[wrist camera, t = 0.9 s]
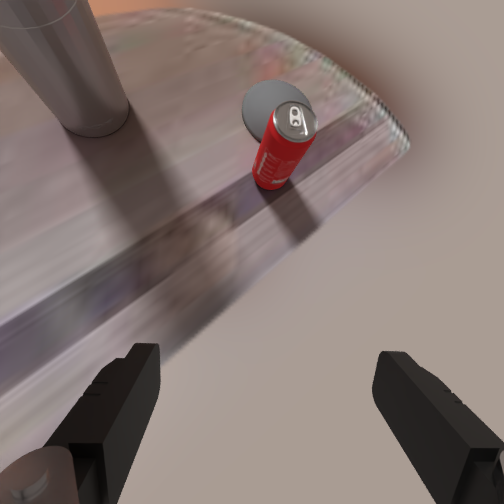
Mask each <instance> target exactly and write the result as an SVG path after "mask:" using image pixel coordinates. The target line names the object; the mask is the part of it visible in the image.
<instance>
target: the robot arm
mask: <svg viewBox="0 0 504 504" xmlns="http://www.w3.org/2000/svg"><path fill="white" fill-rule="evenodd" d="M0 51H1V52H2V53H3V54H4V55H5V57H6V58H7V59H8V60H9V61H10V63H11V64H12V65H13V66H14V67H15V69H16V70H17V71H18V72H19V73H20V75H21V76H22V77H23V78H24V79H25V81H26V82H27V83H28V84H29V85H30V87H31V88H32V89H33V90H34V91H35V93H36V94H37V95H38V96H39V97H40V99H41V100H42V101H43V102H44V103H45V105H46V106H47V107H48V108H49V109H50V111H51V112H52V113H53V114H54V115H55V117H56V118H57V119H58V120H59V121H60V122H61V124H62V125H63V126H64V127H65V128H67V129H68V130H70V131H71V132H73V133H75V134H78V135H81V136H85V137H101V136H105V135H109V134H111V133H113V132H115V131H116V130H118V129H119V128H120V127H121V126H122V125H123V124H124V122H125V121H126V119H127V116H128V112H129V104H128V100H127V97H126V95H125V92H124V90H123V87H122V85H121V82H120V80H119V77H118V75H117V72H116V70H115V67H114V65H113V62H112V60H111V57H110V55H109V52H108V50H107V47H106V45H105V42H104V40H103V37H102V35H101V32H100V30H99V28H98V25H97V23H96V20H95V18H94V15H93V13H92V10H91V8H90V5H89V3H88V0H0ZM159 390H160V349H159V345H158V344H153V343H135V344H134V345H133V346H132V348H131V349H130V351H129V352H128V354H127V355H126V357H125V358H116V359H114V360H113V361H112V362H110V363H109V364H108V365H106V366H105V367H104V368H102V369H101V371H100V372H99V373H98V375H97V376H96V377H95V379H94V380H93V381H92V384H91V385H89V387H88V388H87V389H86V390H85V392H84V393H83V396H81V397H80V398H79V400H78V401H77V402H76V404H75V405H74V406H73V408H72V409H71V410H70V412H69V413H68V414H67V416H66V417H65V418H64V420H63V421H62V422H61V424H60V425H59V426H58V428H57V429H56V430H55V432H54V433H53V434H52V436H51V437H50V438H49V440H48V441H47V442H46V444H45V445H44V446H43V447H42V448H39V449H36V450H34V451H32V452H29V453H28V454H26V455H24V456H22V457H20V458H19V459H17V460H16V461H14V462H13V463H12V464H10V465H9V466H8V467H7V468H5V469H4V470H3V471H2V472H1V473H0V504H117V502H118V500H119V497H120V495H121V492H122V489H123V487H124V484H125V482H126V479H127V477H128V474H129V471H130V469H131V466H132V463H133V461H134V459H135V456H136V453H137V451H138V448H139V446H140V443H141V440H142V438H143V435H144V433H145V430H146V428H147V425H148V422H149V420H150V417H151V415H152V412H153V410H154V407H155V404H156V402H157V399H158V395H159ZM372 394H373V398H374V401H375V404H376V406H377V408H378V409H379V411H380V412H381V414H382V416H383V417H384V419H385V420H386V422H387V424H388V426H389V427H390V429H391V430H392V432H393V434H394V435H395V437H396V439H397V440H398V442H399V443H400V445H401V447H402V448H403V450H404V452H405V453H406V455H407V456H408V458H409V460H410V461H411V463H412V465H413V466H414V468H415V469H416V471H417V473H418V475H419V476H420V478H421V480H422V481H423V483H424V484H425V486H426V488H427V489H428V491H429V493H430V494H431V496H432V498H433V499H434V501H435V502H436V504H504V442H503V441H502V440H501V439H500V438H499V437H498V436H497V435H496V434H495V433H494V432H493V431H492V430H491V429H490V428H488V426H487V425H485V423H484V422H482V421H481V420H480V419H479V418H478V417H477V416H476V415H475V414H474V413H473V412H472V411H471V410H470V409H469V408H468V407H467V406H466V405H465V404H463V403H462V401H461V400H460V399H459V398H458V397H457V396H456V395H455V394H454V393H451V390H450V389H449V388H448V387H447V386H446V385H445V384H444V383H443V382H442V381H441V380H440V379H439V378H438V377H436V376H435V375H433V374H432V373H430V372H428V371H427V370H425V369H424V368H422V367H420V366H419V365H418V364H417V363H416V362H415V361H414V360H413V359H412V358H411V357H410V356H409V355H408V354H407V353H405V352H398V351H382V352H381V353H380V354H379V357H378V362H377V367H376V371H375V376H374V381H373V385H372Z"/></svg>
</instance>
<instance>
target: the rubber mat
mask: <svg viewBox="0 0 504 504" xmlns="http://www.w3.org/2000/svg"><path fill="white" fill-rule="evenodd" d="M289 100H295V101H299V102H302V103H304V104H306V105H307V106H309V107H310V108H311V105H310V103H309V101H308V99H307V98H306V96H305V95H304V94H303V93H302V92H301V91H300V90H299V89H297V88H296V87H295V86H293V85H291V84H289V83H287V82H284V81H280V80H265V81H262V82H259V83H257V84H255V85H254V86H252V87H251V88H250V89H249V90H248V92H247V93H246V95H245V97H244V101H243V105H242V117H243V121H244V123H245V126H246V128H247V129H248V131H249V132H250V133H251V134H252V135H253V136H254V137H255V138H256V139H257V140H259V141H260V142H261V141H262V138H263V135H264V133H265V130H266V127H267V124H268V121H269V118H270V115H271V113H272V112H273V111H274V110H275V109H276V107H277V106H278V105H280V104H281V103H283V102H285V101H289ZM311 109H312V108H311Z"/></svg>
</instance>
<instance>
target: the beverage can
mask: <svg viewBox="0 0 504 504" xmlns="http://www.w3.org/2000/svg"><path fill="white" fill-rule="evenodd" d="M317 127H318V122H317V118H316V115H315V113H314V112H313V111H312V109H311V108H310V107H309V106H307V105H306V104H304V103H302V102H299V101H295V100H289V101H285V102H283V103H281V104H280V105H278V106H277V107H276V109H275V110H274V111H273V112H272V113H271V115H270V118H269V121H268V124H267V127H266V130H265V133H264V135H263V138H262V141H261V144H260V147H259V150H258V153H257V156H256V159H255V162H254V165H253V168H252V173H253V177H254V179H255V182H256V183H257V184H258V185H259V186H260V187H261V188H263V189H266V190H274V189H278V188H280V187H281V186H283V185H284V184H285V182H286V181H287V179H288V178H289V176H290V175H291V173H292V172H293V170H294V169H295V167H296V166H297V164H298V163H299V161H300V160H301V158H302V157H303V156H304V154H305V153H306V151H307V150H308V148H309V147H310V145H311V144H312V142H313V141H314V139H315V136H316V131H317Z"/></svg>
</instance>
